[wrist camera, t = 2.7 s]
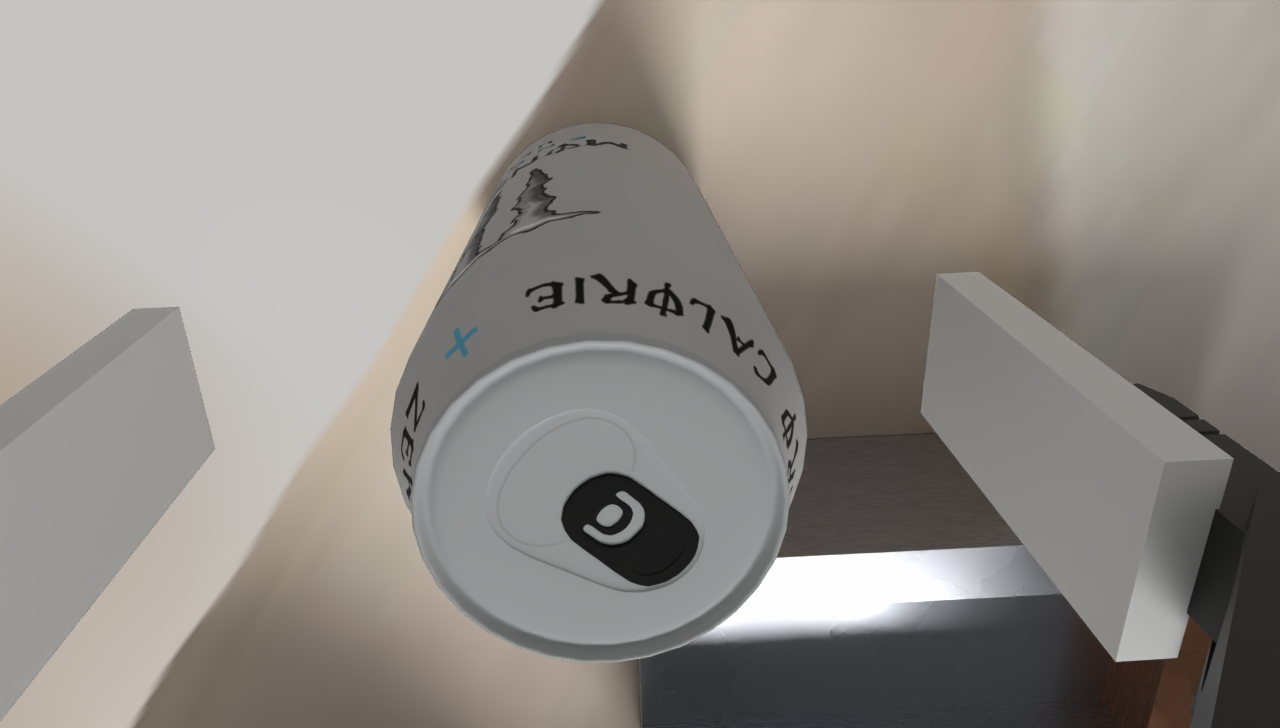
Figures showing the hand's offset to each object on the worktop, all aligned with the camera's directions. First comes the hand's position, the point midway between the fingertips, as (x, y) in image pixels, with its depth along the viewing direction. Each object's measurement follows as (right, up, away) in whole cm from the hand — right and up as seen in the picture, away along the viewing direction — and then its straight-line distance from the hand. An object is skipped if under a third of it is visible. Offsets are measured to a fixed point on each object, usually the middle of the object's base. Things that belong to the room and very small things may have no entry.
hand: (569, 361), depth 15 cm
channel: (+10, -8, +15) cm, 20 cm away
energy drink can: (0, +4, +10) cm, 10 cm away
